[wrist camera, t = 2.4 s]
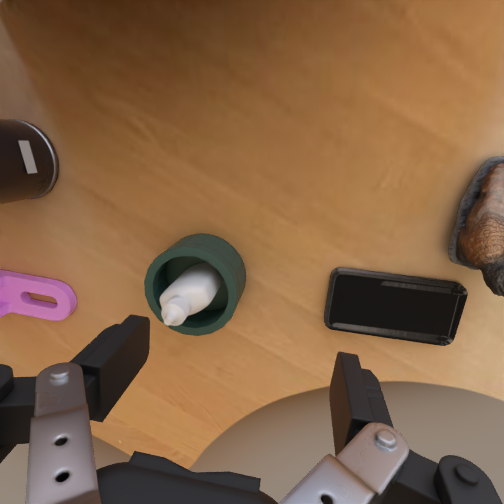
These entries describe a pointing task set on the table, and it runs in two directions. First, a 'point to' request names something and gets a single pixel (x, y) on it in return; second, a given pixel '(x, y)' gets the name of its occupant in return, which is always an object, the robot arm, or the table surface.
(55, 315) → the bracket
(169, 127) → the table surface
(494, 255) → the bison figurine
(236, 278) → the green short hollow cylinder
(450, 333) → the phone
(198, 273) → the eye dropper bottle
